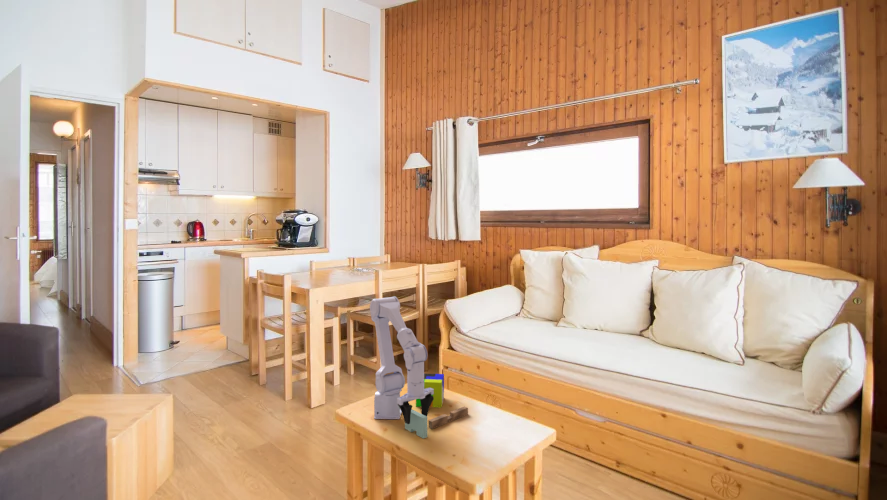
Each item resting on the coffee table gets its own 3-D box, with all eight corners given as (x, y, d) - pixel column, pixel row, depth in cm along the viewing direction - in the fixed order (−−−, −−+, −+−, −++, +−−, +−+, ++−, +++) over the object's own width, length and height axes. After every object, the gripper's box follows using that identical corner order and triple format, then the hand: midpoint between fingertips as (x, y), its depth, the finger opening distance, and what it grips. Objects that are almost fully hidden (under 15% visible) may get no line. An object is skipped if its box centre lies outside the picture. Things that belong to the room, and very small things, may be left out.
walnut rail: (431, 429, 162) (431, 421, 162) (428, 427, 163) (428, 420, 163) (467, 414, 174) (467, 407, 174) (464, 412, 176) (464, 406, 175)
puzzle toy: (443, 398, 191) (443, 374, 190) (441, 407, 181) (441, 382, 180) (419, 397, 192) (419, 373, 191) (415, 406, 182) (415, 381, 181)
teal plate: (427, 436, 156) (427, 416, 156) (423, 438, 155) (423, 418, 155) (408, 427, 164) (408, 407, 163) (404, 428, 162) (404, 409, 162)
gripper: (406, 389, 150) (406, 429, 151) (439, 378, 160) (439, 417, 161) (393, 383, 155) (393, 423, 156) (426, 373, 165) (426, 411, 166)
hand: (416, 419), depth 159 cm, fingers open, 7 cm apart
